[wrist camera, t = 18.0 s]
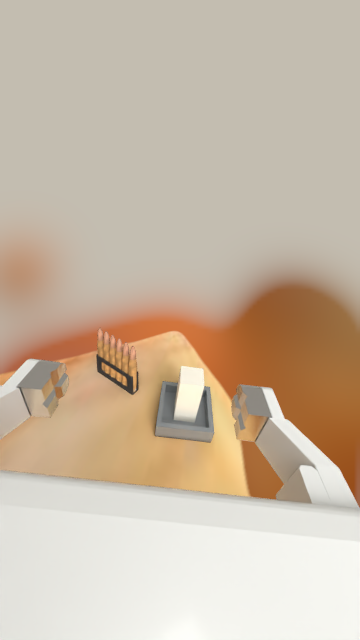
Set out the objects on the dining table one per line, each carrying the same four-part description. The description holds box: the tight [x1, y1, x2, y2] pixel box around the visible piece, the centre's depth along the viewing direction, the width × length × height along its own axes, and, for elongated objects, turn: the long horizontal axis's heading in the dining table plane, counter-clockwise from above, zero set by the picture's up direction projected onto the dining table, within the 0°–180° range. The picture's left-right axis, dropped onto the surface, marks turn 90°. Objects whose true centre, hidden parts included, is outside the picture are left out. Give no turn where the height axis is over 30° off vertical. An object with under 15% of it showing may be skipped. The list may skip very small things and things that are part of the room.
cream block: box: [173, 366, 204, 423], centre depth 40 cm, size 4×4×10 cm
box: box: [155, 381, 214, 442], centre depth 42 cm, size 10×10×3 cm
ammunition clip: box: [97, 328, 138, 394], centre depth 45 cm, size 11×2×12 cm, turn 57°
